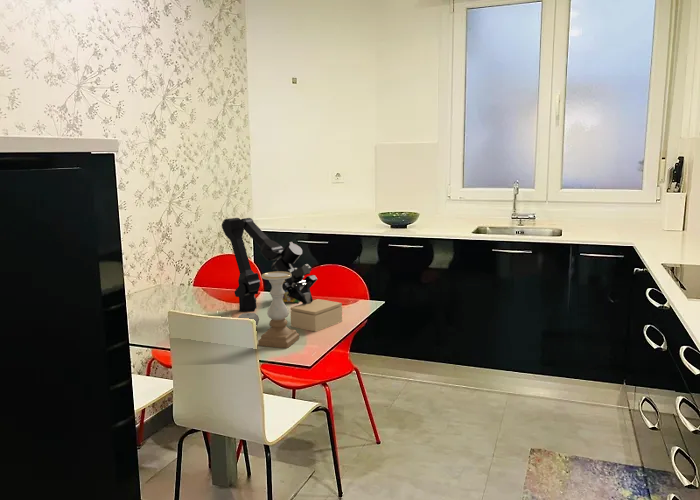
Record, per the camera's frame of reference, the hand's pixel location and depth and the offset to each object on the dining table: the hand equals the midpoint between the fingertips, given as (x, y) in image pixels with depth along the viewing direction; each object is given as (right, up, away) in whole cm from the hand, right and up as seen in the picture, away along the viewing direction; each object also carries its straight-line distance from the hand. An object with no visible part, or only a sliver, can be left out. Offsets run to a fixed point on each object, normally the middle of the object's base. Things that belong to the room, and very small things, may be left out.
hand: (309, 302), depth 218 cm
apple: (-22, -10, -8) cm, 25 cm away
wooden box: (+3, -8, -1) cm, 9 cm away
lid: (+3, -2, -2) cm, 4 cm away
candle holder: (-9, -12, -22) cm, 26 cm away
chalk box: (-10, -3, +36) cm, 38 cm away
